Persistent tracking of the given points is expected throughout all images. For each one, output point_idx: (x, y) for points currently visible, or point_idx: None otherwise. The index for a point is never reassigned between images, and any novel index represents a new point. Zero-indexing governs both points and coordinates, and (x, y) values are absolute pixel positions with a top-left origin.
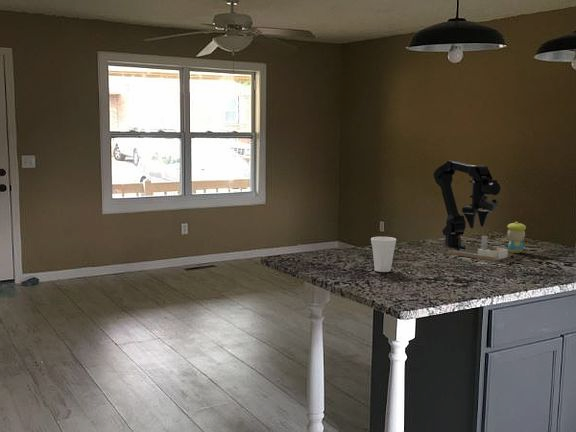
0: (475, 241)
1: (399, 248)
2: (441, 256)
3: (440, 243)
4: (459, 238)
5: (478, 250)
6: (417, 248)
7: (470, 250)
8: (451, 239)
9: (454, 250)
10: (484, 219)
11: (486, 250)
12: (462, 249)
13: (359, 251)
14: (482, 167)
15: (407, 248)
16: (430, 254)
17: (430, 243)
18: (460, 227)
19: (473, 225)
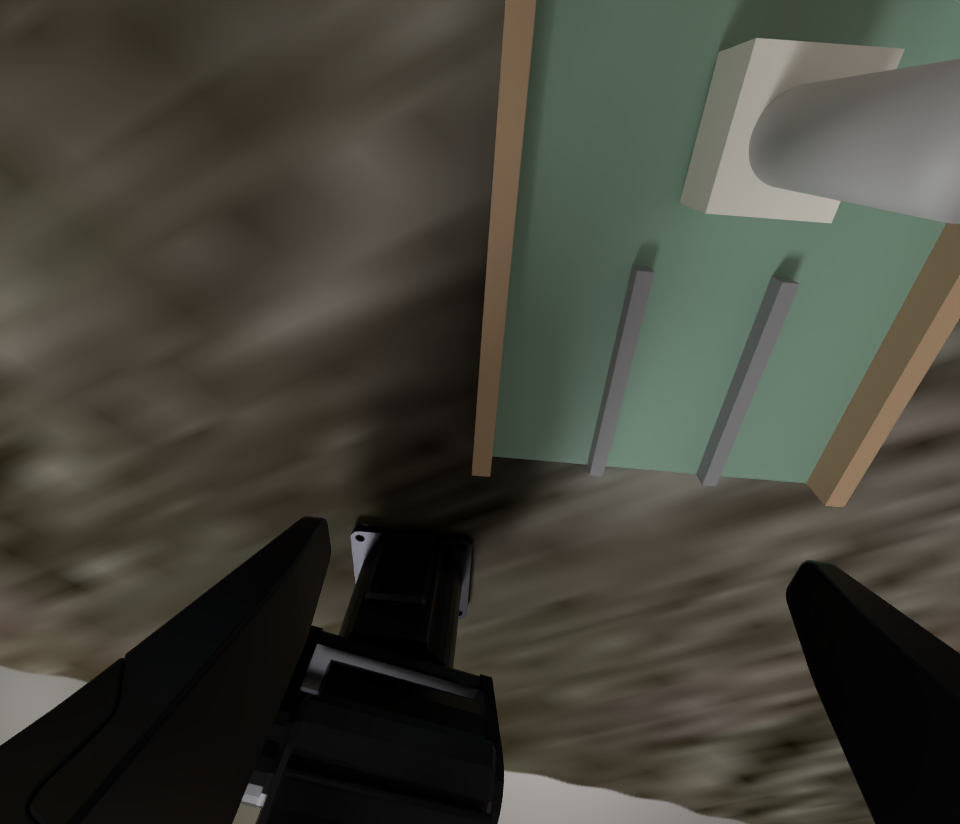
0: (7, 548)
1: (696, 740)
2: (892, 492)
3: None
4: (387, 603)
5: (826, 210)
6: (626, 689)
7: (507, 402)
8: (453, 633)
9: (713, 483)
10: (208, 674)
11: (874, 58)
12: (607, 452)
13: None
14: None
15: (666, 718)
16: None
17: None
18: (401, 727)
19: (886, 616)
